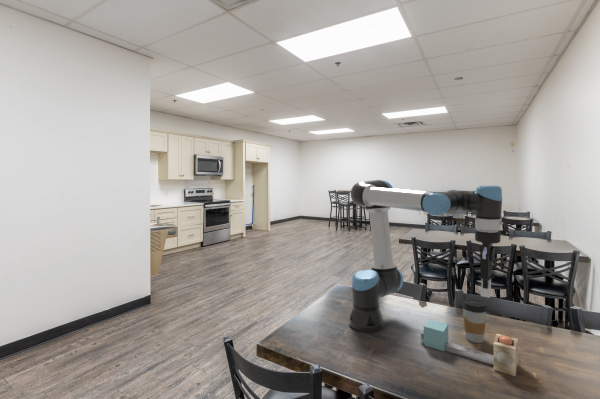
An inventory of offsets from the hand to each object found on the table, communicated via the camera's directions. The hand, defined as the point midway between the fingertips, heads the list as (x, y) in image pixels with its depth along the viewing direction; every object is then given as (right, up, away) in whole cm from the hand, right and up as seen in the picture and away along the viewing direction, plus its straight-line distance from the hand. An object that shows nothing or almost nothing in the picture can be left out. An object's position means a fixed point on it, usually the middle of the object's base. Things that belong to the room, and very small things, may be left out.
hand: (485, 296), depth 106 cm
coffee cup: (+4, -22, +14) cm, 26 cm away
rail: (-7, -23, +5) cm, 24 cm away
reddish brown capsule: (+4, -16, -4) cm, 17 cm away
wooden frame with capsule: (+4, -23, -4) cm, 24 cm away
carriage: (-13, -23, +10) cm, 28 cm away
